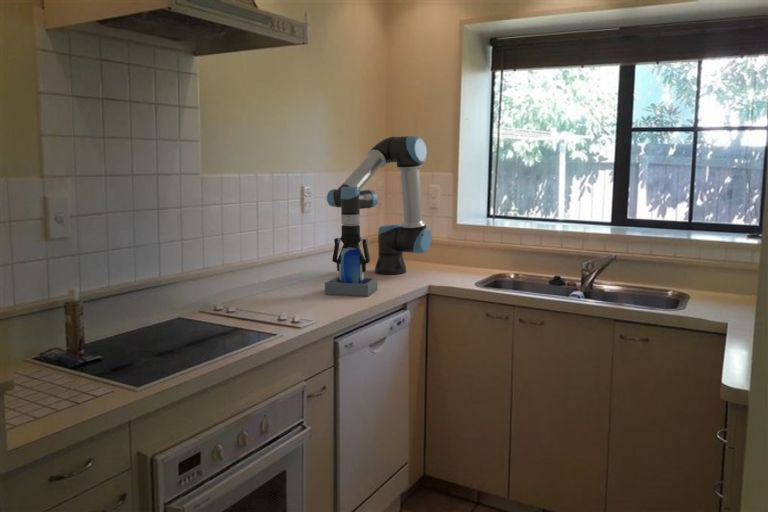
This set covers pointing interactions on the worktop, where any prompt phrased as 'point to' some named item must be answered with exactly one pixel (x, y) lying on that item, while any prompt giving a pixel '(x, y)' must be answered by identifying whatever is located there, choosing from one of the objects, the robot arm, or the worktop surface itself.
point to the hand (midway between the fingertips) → (351, 279)
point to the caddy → (351, 287)
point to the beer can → (350, 266)
